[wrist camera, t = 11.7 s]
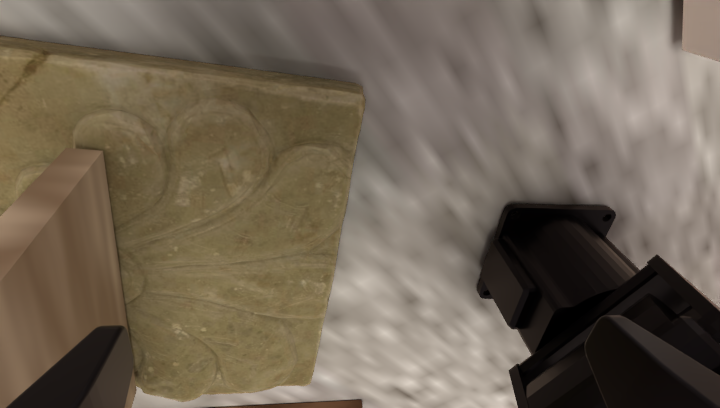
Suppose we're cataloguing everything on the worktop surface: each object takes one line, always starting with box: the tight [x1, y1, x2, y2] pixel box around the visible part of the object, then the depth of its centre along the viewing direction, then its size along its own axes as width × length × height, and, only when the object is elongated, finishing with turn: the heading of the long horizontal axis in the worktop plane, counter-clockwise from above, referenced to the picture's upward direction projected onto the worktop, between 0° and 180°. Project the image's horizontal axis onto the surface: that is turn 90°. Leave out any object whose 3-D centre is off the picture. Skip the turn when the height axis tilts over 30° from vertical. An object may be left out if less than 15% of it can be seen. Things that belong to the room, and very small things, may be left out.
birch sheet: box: [0, 148, 136, 408], centre depth 15 cm, size 1×14×10 cm, turn 170°
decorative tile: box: [0, 36, 365, 402], centre depth 21 cm, size 19×20×4 cm
